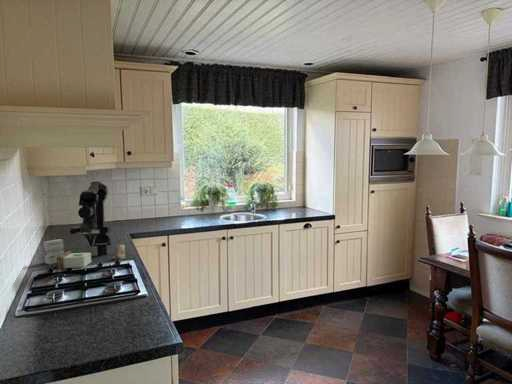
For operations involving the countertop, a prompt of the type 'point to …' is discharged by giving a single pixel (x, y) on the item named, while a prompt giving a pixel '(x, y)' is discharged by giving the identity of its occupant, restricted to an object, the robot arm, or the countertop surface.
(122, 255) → the dowel
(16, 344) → the countertop surface
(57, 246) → the ink box
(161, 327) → the countertop surface
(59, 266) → the wall board
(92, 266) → the countertop surface
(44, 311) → the countertop surface
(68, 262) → the socket block
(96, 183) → the robot arm
